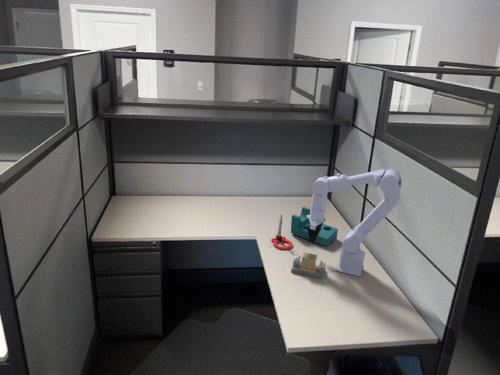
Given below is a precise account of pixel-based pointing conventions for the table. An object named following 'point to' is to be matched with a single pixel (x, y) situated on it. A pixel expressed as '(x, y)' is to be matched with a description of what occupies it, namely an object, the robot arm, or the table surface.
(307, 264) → the coupling block
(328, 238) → the teal l-shaped bracket
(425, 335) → the table surface
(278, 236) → the tow hook
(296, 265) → the stand
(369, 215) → the robot arm
